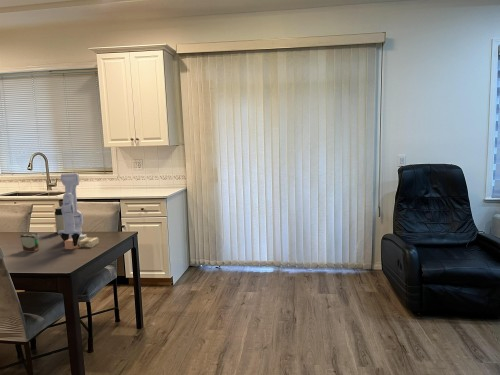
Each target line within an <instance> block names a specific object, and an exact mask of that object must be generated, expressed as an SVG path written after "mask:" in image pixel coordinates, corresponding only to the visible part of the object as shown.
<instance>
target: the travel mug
mask: <svg viewBox="0 0 500 375" xmlns="http://www.w3.org/2000/svg"><path fill="white" fill-rule="evenodd" d="M54 210H55V211H54V220H55V221H54V222H55V228H56V229H55V230H56V233H57V234H58V231H60V230H64V220H63V216H62V211H61V206H56V207H54Z"/></svg>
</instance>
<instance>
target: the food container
mask: <svg viewBox="0 0 500 375" xmlns="http://www.w3.org/2000/svg"><path fill="white" fill-rule="evenodd" d="M19 238H20V240H21V245H22V251H23V252H30V253H32V252H33V253H37V252H38V251H39V249H40V248H39V245H40V244H39V239H40V235H39V233H38V232H26V233H21V234H20V235H19Z"/></svg>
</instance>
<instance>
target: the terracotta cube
mask: <svg viewBox="0 0 500 375" xmlns="http://www.w3.org/2000/svg"><path fill="white" fill-rule="evenodd" d="M64 242H65V243H64ZM63 243H64V249H65V250H74V249H76V248H78V247H79V244H78V242H77V245H76V246H74V244H73V239H68V240H65V241H63Z"/></svg>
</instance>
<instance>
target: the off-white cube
mask: <svg viewBox="0 0 500 375" xmlns="http://www.w3.org/2000/svg"><path fill="white" fill-rule="evenodd" d="M85 238H88V236H87V233H86V234H83V233H82V235H80V236H79V238H78V245H79V241H81V240H83V239H85Z"/></svg>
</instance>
